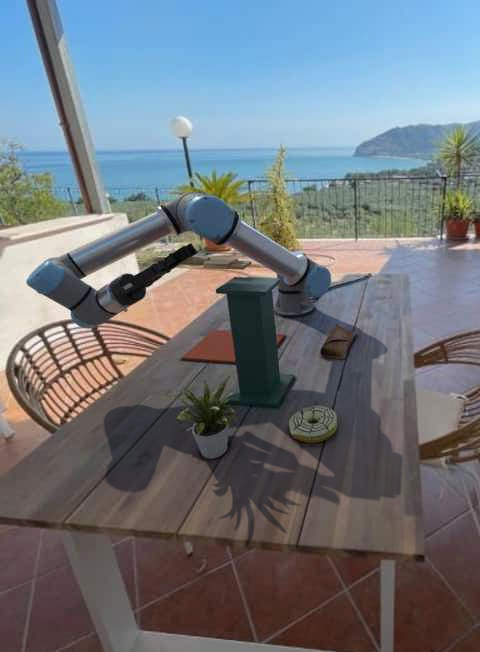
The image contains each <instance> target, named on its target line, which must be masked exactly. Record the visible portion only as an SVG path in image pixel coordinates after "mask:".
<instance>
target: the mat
mask: <svg viewBox="0 0 480 652" xmlns="http://www.w3.org/2000/svg"><path fill="white" fill-rule="evenodd" d="M285 337H286V334H285V333H284V334H283V333H276V339H277V347H279V346H280V344H281V342H283V340H284V338H285ZM181 360H182V361H195V362H208V363H219V364H220V363H222V364H234V365H236V361H235V353H234V346H233V338H232V331H231V330H218V329H213V330H212V331H210V332H209V333H208V334H207V335H206V336H205V337H204V338H202V339H201V340H200V341H198V343H197V344H195V345H194V346H193V347H192V348H191V349H189V350H188V351H187V352H186V353H185V354H184V355H182V356H181Z"/></svg>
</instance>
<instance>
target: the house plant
mask: <svg viewBox="0 0 480 652" xmlns="http://www.w3.org/2000/svg"><path fill="white" fill-rule="evenodd" d="M231 376H232V375H229V376H228V377H226V378H225V379H223V381H222V382H221V383H220V385H219V387H218V388H217V389H215V391H213V393H211V392H210V387H209V385H208V380H205V379H203V384H204V386H203V396H202V395H200V396H198V397H196V396H195V394H194V392H192V391H191V390H189V389H187V388H183V390H182V389H180V392H181V394H183V395H185V396H186V398H187V399H188V400H189V401H190V402H192V403H193V404H194V407H192V406H190V404H188V403H186V402H185V401H184V400H182V399H181V398H178V397H176V396H162V397H161V399H173V400H175V401H178V402H181V403H182V404H183V405H185V406H187V407H188V408H185V409H184V410H182V411H180V412H179V413H178V414H177V416H176V420H178V421H186V420H190V421H193V422H195V423H194V424H193V426H190V427H189V428H187V429H186V432H188V431H189V430H191V431H192V434H193V437H194V439H195V441H196V445H197V446H198V449H199V451H200V453H201V455H202V457H203V458H205V459H216V458H219V457H221V456H222V455H225V453H226V452H227V450H228V440H229V428H230V427H231V426H230V421H229V419H228V418H230V419H232V420H235V421H236V422H237V423H238V417H237V415H236V414H237V412H236V411H235V410H234V409H233V407H231V406H228V405H227V404H228V403H227V402H228V400H229V399H226V398H227V397H228V396H230V395H232V394H234V393H237V392H233V393H230V394H228V393H227V395H225V396H224V397H223V398H222V400H220V399H221V397H222V395H223V393H224V391H225V389H226V385H227V382H228V381H229V380H230V378H231ZM212 398H213V401H212V402H211V399H212ZM230 399H232V398H230ZM211 403H212V405H211ZM226 405H227V406H226ZM190 409H191V410H192V411H193V412H195V413H196V414H197V415H198V416H197V415H195V414H194V413H192V412H191V411H188V410H190ZM227 410H230V411H232V412H230V411H229V412H226V411H227Z"/></svg>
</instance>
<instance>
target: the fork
mask: <svg viewBox="0 0 480 652" xmlns="http://www.w3.org/2000/svg"><path fill="white" fill-rule="evenodd" d="M167 256H168V255H157V256H156V257H155V263H156V264H157V263H158V262H159V261H160V260H163V261H165V260H164V258H166V257H167ZM252 264H253V262H252V260H239V258H238V257H225V256H224V257H223V256H214V257H212V258H211V257H209V256H192V257H189V258H187V259H186V260H184V261H182V262H181V263H179V264H178V265H179V266H202V267H203V269H204V270H240V271H244V270H245V269H247V268H248V267H250V266H252Z"/></svg>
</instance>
